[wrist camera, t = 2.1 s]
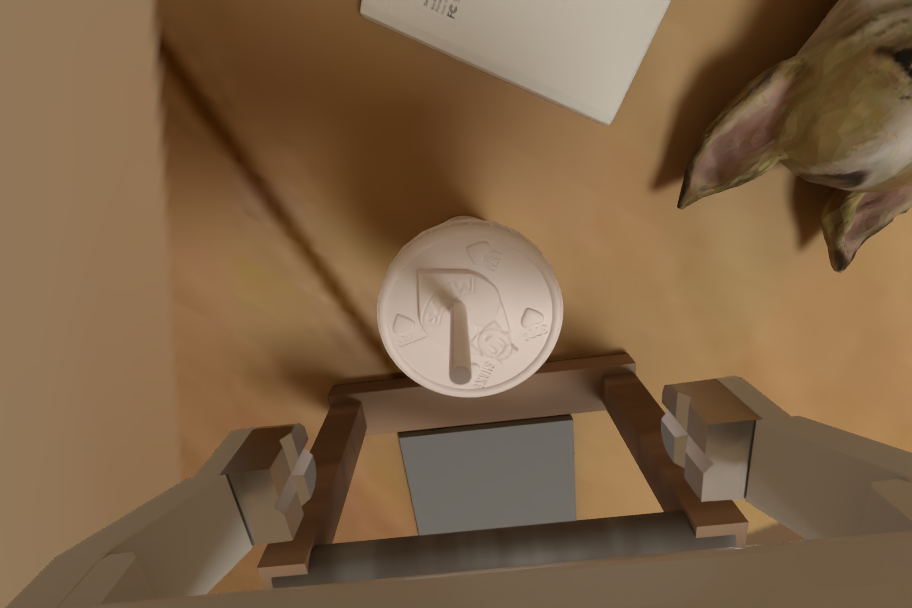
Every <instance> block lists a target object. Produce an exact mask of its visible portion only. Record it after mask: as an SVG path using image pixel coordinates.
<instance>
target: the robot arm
mask: <svg viewBox="0 0 912 608" xmlns="http://www.w3.org/2000/svg"><path fill="white" fill-rule="evenodd" d="M662 403H663V404H664V405H665V406H666V408H667V409H668V411H667V412H666V414H665V415H664V416H663V418H662V419H661V434H662V439H663V443H664V446H665V449H666V451H667V453H668V455H669V456H670V458H671V459H672V461H673V462H674V463H676V464H678V465H679V466H681V467H683V468H685V471H684V478H685V479H686V481H687V482H688V484H689V485H690V487H691V488H692V489H693V491H694V492H695V494H696V495H697V496H698V498H699V499H700V501H701V502H704V501H719V500H734V499H746V501H747V502H748V503H750V504H752V505H753V506H755V507H756V508H758V509H759V510H761V511H763V512H764V513H766V514H767V515H769V516H770V517H772V518H774V519H775V520H777V521H778V522H780V523H781V524H783V525H784V526H786V527H788V528H789V529H791V530H792V531H794V532H796V533H797V534H799V535H800V536H802V537H803V538H805V539H806V540H803V541H793V542H782V543H772V544H760V545H749V546H738V547H727V548H715V549H704V550H693V551H682V552H671V553H660V554H649V555H638V556H626V557H615V558H604V559H593V560H582V561H571V562H560V563H549V564H538V565H527V566H516V567H506V568H495V569H484V570H473V571H462V572H452V573H441V574H429V575H418V576H407V577H396V578H385V579H374V580H363V581H352V582H341V583H330V584H319V585H308V586H296V587H285V588H274V589H263V590H252V591H241V592H230V593H219V594H208V595H206V594H207V593H208V592H209V591H210V590H211V589H212V588H213V587H214V586H215V585H216V584H217V583H218V582H219V581H220V580H221V579H222V578H223V577H224V576H225V575H226V574H227V573H228V572H229V571H230V570H231V569H232V568H233V567H234V566H235V565H236V564H237V563H238V562H239V561H240V560H241V559H242V558H243V557H244V556H245V555H246V554H247V553H248V552H249V551H250V550H251V549H252V548H253V547H252V546H253V545H261V544H269V543H277V542H285V541H293V539H294V537H295V534H296V532H297V530H298V527H299V525H300V523H301V520H302V518H303V515H304V513H303V510H302V507H301V506H302V505H303V504H305V503H306V502H307V501H308V500H309V499H311V496H312V494H313V491H314V488H315V482H316V465H315V461H314V457H313V455H312V454H311V453H310V452H308V451H307V450H306V449H305V448H304V447H305V445H306V443H307V441H308V437H307V433H306V430H305V427H304V426H302V425H301V424H300V423H298V424H287V425H275V426H263V427H251V428H243V429H237V430H234V431H231V432H230V434H229V435H228V436H227V437H226V439H225V440H224V441H223V442H222V444H221V445H220V446H219V447H218V448H217V450H216V451H215V452H214V453H213V455H212V456H211V457H210V458H209V460H208V461H207V462H206V463H205V464H204V466H203V467H202V468H201V469H200V471H199V472H198V473H197V474H196V476H195V477H194V478H188V479H185V480H183V481H182V482H180V483H178V484H177V485H175V486H174V487H172V488H170V489H168V490H167V491H165V492H163V493H162V494H160V495H158V496H157V497H155V498H154V499H152V500H150V501H148V502H147V503H145V504H143V505H142V506H140V507H138V508H137V509H135V510H133V511H132V512H130V513H128V514H127V515H125V516H124V517H122V518H120V519H118V520H117V521H115V522H113V523H112V524H110V525H108V526H107V527H105V528H103V529H102V530H100V531H98V532H97V533H95V534H93V535H92V536H90V537H88V538H87V539H85V540H83V541H82V542H80V543H78V544H77V545H75V546H73V547H72V548H70V549H69V550H67V551H65V552H63V553H62V554H60V555H58V556H57V557H55V558H54V559H53V560H52V561H51V562H50V563H49V564H48V565H47V566H46V567H45V568H44V569H43V570H42V571H41V572H40V573H39V574H38V575H37V576H36V577H35V578H34V579H33V580H32V581H31V582H30V583H29V584H28V585H27V586H26V587H25V588H24V589H23V590H22V591H21V592H20V594H18V595H17V596H16V597H15V599H14V600H13V601H11V602H10V603H9V604H8V605H7V607H6V608H912V453H910V452H907V451H904V450H901V449H898V448H895V447H892V446H889V445H886V444H883V443H880V442H877V441H874V440H871V439H868V438H865V437H862V436H859V435H856V434H853V433H850V432H847V431H844V430H841V429H838V428H835V427H832V426H829V425H825V424H822V423H819V422H816V421H813V420H810V419H807V418H804V417H801V416H793V417H791V416H790V415H789V414H787V413H786V412H785V411H784V410H782V409H781V408H780V407H779V406H777V405H776V404H775V403H773V402H772V401H771V400H770V399H768V398H767V397H766V396H765V395H763V394H762V393H761V392H759V391H758V390H757V389H756V388H754V387H753V386H752V385H751V384H749V383H748V382H747V381H745V380H744V379H743V378H742V377H738V376H729V377H722V378H715V379H709V380H701V381H694V382H686V383H678V384H671V385H665V386H664V389H663V392H662Z"/></svg>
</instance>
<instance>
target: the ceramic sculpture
mask: <svg viewBox="0 0 912 608" xmlns="http://www.w3.org/2000/svg"><path fill="white" fill-rule="evenodd" d="M779 160H780V161H781V162H782V163H783V164H784V165H785V166H786V167H787V168H788V169H789V170H790V171H792V172H793V173H794V174H795V175H797V176H799V177H800V178H802V179H804V180H806V181H808V182H811V183H816V184H821V185H826V186H830V187H832V189H831V190H830V192H829V193H828V195H827V196H826V197H825V199H824V200H823V202H822V206H821V210H820V220H821V225H822V230H823V235H824V239H825V241H826V244H827V247H828V253H829V258H830V263H831V266H832V268H833V269H834V271H837V272H839V273H841V272H842V271H844V270H845V269H846V267H847V266H848V265H849V264H850V262H851V261H852V260H853V258H854V256H855V254H856V252H857V250H858V249H859V247H860V246H861V245H862V244H863V243H864V242H865V241H866V240H867V239H868V238H869V237H871V236H872V235H874V234H876V233H877V232H879V231H880V230H881V229H883V228H884V227H885V226H887V225H888V224H889V223H890V222H892V221H893V218H894V217H895V216H896V215H898V214H902V213H906V212H907V211H908V210H909V208H910V207H912V0H838V2H837V3H836V4H835V5H834V7H833V8H832V9H831V10H830V11H829V13H828V14H827V16H826V17H825V18H824V20H823V21H822V22H821V24H820V25H819V27H818V28H817V29H816V31H815V32H814V33H813V34H812V36H811V37H810V38H809V39H808V40H807V42H806V43H805V44H804V45H803V46H802V48H801V49H800V50H799V51H798V53H797V54H796V56H794V57H792V58H790V59H787V60H784V61H781V62H779V63H777V64H775V65H773V66H771V67H770V68H768V69H767V70H765V71H764V72H762V73H761V74H759V75H758V76H757V77H755V78H754V79H752V80H751V81H750V82H748V84H747V85H746V86H745V87H744V88H743V90H742V91H741V92H740V93H738V94H737V95H735V96H734V97H733V98H732V99H731V101H729V102H728V103H727V104H726V105H725V107H724V108H723V109H722V111H721V112H720V113H719V115H718V116H717V117H716V118H715V119H714V121H713V122H712V123H711V124H710V125H708V127H707V128H706V130H705V131H704V133H703V134H702V135H701V137H700V140H699V143H698V145H697V147H696V149H695V151H694V152H693V154H692V155H691V158H690V160H689V163H688V166H687V168H686V171H685V175H684V180H683V184H682V188H681V192H680V196H679V201H678V205H677V207H678V208H679V209H681V210H682V209H683V208H685V207H687V206H689V205H690V204H692V203H694V202H695V201H697V200H699V199H701V198H703V197H706V196H709V195H712V194H715V193H719V192H722V191H724V190H727V189H730V188H733V187H737V186H740V185H742V184H744V183H746V182H749V181H751V180H753V179H755V178H757V177H759V176H761V175H762V174H764V173H765V172H767V171H768V170H770V169H771V168H772V167H773V166H774V165H775V164H776V163H777V162H778V161H779Z"/></svg>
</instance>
